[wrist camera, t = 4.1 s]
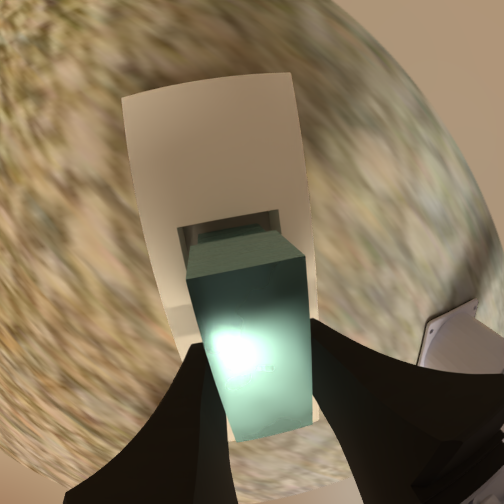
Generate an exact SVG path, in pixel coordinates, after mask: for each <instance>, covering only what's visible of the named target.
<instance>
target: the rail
mask: <svg viewBox="0 0 504 504" xmlns="http://www.w3.org/2000/svg"><path fill="white" fill-rule="evenodd" d="M122 109H123V118H124V127H125V135H126V142H127V149H128V156H129V162H130V168H131V174H132V180H133V185H134V190H135V196H136V201H137V206H138V210H139V215H140V220H141V224H142V229H143V233H144V237H145V241H146V245H147V249H148V253H149V257H150V261H151V265H152V269H153V272H154V276H155V279H156V283H157V286H158V290H159V293H160V297H161V300H162V303H163V307H164V310H165V313H166V316H167V319H168V322H169V325H170V328H171V331H172V334H173V337H174V340H175V343H176V346H177V349H178V351H179V354H180V357H181V360H182V362H183V360H184V358H185V356H186V354H187V351H188V349H189V347H190V346H191V344H194V343H200V342H202V338H201V335H200V331H199V328H198V324H197V321H196V317H195V314H194V310H193V306H192V303H191V299H190V295H189V291H188V287H187V283H186V272H187V265H188V258H189V251H190V246H193V245H197V244H198V234H201V233H206V232H211V231H216V230H222V229H227V228H232V227H238V226H243V225H249V224H254V223H258V224H259V225H260V226H261V227H262V228H263V229H264V230H265V231H266V232H267V231H273V230H276V231H278V232H279V233H280V234H281V235H282V236H283V237H284V238H286V239H287V240H288V241H289V242H290V243H291V244H293V245H294V246H295V247H296V248H297V249H298V250H299V251H301V252H302V253H303V254H304V255H305V256H306V268H307V281H308V296H309V312H310V318H315V319H316V320H318V300H317V281H316V266H315V252H314V240H313V228H312V218H311V208H310V198H309V189H308V181H307V172H306V165H305V157H304V150H303V143H302V136H301V129H300V123H299V116H298V110H297V104H296V98H295V93H294V87H293V82H292V76H291V72H287V73H262V74H248V75H237V76H227V77H219V78H212V79H205V80H198V81H192V82H186V83H181V84H176V85H171V86H166V87H162V88H157V89H153V90H149V91H145V92H141V93H137V94H133V95H130V96H126V97H123V98H122ZM312 405H313V422H314V421H317V420H319V405H318V404H317V402H316V400H315V398H314V397H313V395H312ZM226 418H227V415H226ZM227 433H228V442H229V441H235V437H234V434H233V432H232V429H231V426H230V424H229V421H228V418H227Z"/></svg>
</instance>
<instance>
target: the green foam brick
mask: <svg viewBox="0 0 504 504" xmlns="http://www.w3.org/2000/svg"><path fill="white" fill-rule="evenodd" d="M186 283H187V287H188V291H189V295H190V299H191V303H192V306H193V310H194V314H195V317H196V321H197V324H198V328H199V331H200V335H201V338H202V342H203V345H204V348H205V352H206V355H207V358H208V362H209V365H210V368H211V371H212V374H213V377H214V380H215V383H216V386H217V389H218V392H219V395H220V398H221V401H222V404H223V407H224V410H225V413H226V415H227V418H228V421H229V424H230V426H231V429H232V432H233V434H234V437H235V440H236V442H243V441H248V440H253V439H258V438H262V437H267V436H271V435H275V434H279V433H283V432H287V431H291V430H295V429H298V428H302V427H305V426H309V425H312V424H313V405H312V356H311V331H310V312H309V296H308V281H307V268H306V256H305V255H304V254H303V253H302V252H301V251H299V250H298V249H297V248H296V247H295V246H294V245H293V244H291V243H290V242H289V241H288V240H287V239H286V238H284V237H283V236H282V235H281V234H280V233H279V232H278V231H276V230H273V231H267V232H266V231H265V230H264V229H263V228H262V227H261V226H260V225H259V224H258V223H254V224H249V225H243V226H238V227H232V228H227V229H222V230H216V231H211V232H206V233H201V234H198V244H197V245H193V246H190V251H189V258H188V265H187V272H186Z"/></svg>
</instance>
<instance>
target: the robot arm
mask: <svg viewBox="0 0 504 504" xmlns="http://www.w3.org/2000/svg"><path fill="white" fill-rule="evenodd" d="M477 305H478V299H476V298H474V299H473V300H471V301H469V302H467V303H465V304H463V305H461V306H460V307H458V308H456V309H454V310H452V311H450V312H448V313H446V314H444V315H442V316H439V317H437V318H435V319H433V320H431V321H429V322H428V324H427V326H426V331H425V336H424V341H423V345H422V349H421V353H420V357H419V361H418V365H413V364H410V363H406V362H403V361H400V360H397V359H394V358H391V357H389V356H386V355H383V354H381V353H379V352H376V351H374V350H372V349H370V348H367V347H365V346H363V345H361V344H359V343H357V342H355V341H353V340H351V339H349V338H348V337H346V336H344V335H342V334H340V333H339V332H337V331H335V330H333V329H332V328H330V327H328V326H327V325H325V324H323V323H322V322H320V321H318V320H316V319H315V318H310V331H311V356H312V395H313V397H314V398H315V400H316V402H317V404H318V405H319V407H320V409H321V411H322V412H323V414H324V416H325V417H326V419H327V421H328V423H329V424H330V426H331V428H332V429H333V431H334V433H335V435H336V437H337V439H338V441H339V443H340V445H341V447H342V450H343V452H344V454H345V457H346V459H347V461H348V464H349V466H350V469H351V471H352V474H353V476H354V479H355V481H356V484H357V487H358V489H359V492H360V495H361V497H362V500H363V503H364V504H504V338H503V337H502V336H500V335H499V334H497V333H496V332H494V331H493V330H492V329H490V328H489V327H487V326H486V325H484V324H483V323H481V322H480V321H478V320H477V319H475V314H476V310H477ZM63 504H238V501H237V497H236V492H235V488H234V483H233V478H232V473H231V468H230V460H229V448H228V433H227V418H226V413H225V410H224V407H223V404H222V401H221V398H220V395H219V392H218V389H217V386H216V383H215V380H214V377H213V374H212V371H211V368H210V365H209V362H208V358H207V355H206V352H205V348H204V345H203V342H200V343H194V344H191V346H190V347H189V349H188V351H187V354H186V356H185V358H184V360H183V363H182V365H181V367H180V369H179V371H178V373H177V375H176V377H175V378H174V380H173V382H172V384H171V386H170V388H169V389H168V391H167V393H166V394H165V396H164V398H163V399H162V401H161V402H160V404H159V406H158V407H157V409H156V410H155V412H154V413H153V414H152V416H151V417H150V419H149V420H148V421H147V422H146V424H145V425H144V426H143V428H142V429H141V430H140V431H139V432H138V433H137V435H136V436H135V437H134V438H133V439H132V440H131V441H130V442H129V443H128V445H127V446H126V447H125V448H124V449H123V450H122V451H121V452H120V453H119V454H118V455H116V456H115V457H114V458H113V459H112V460H111V461H110V462H109V463H107V464H106V465H105V466H104V467H102V468H101V469H100V470H99V471H97V472H96V473H95V474H93V475H92V476H91V477H89V478H88V479H86V480H85V481H83V482H82V483H80V484H78V485H77V486H75V487H74V488H72V489H71V490H69V491H67V492H66V493H65V497H64V501H63Z"/></svg>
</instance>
